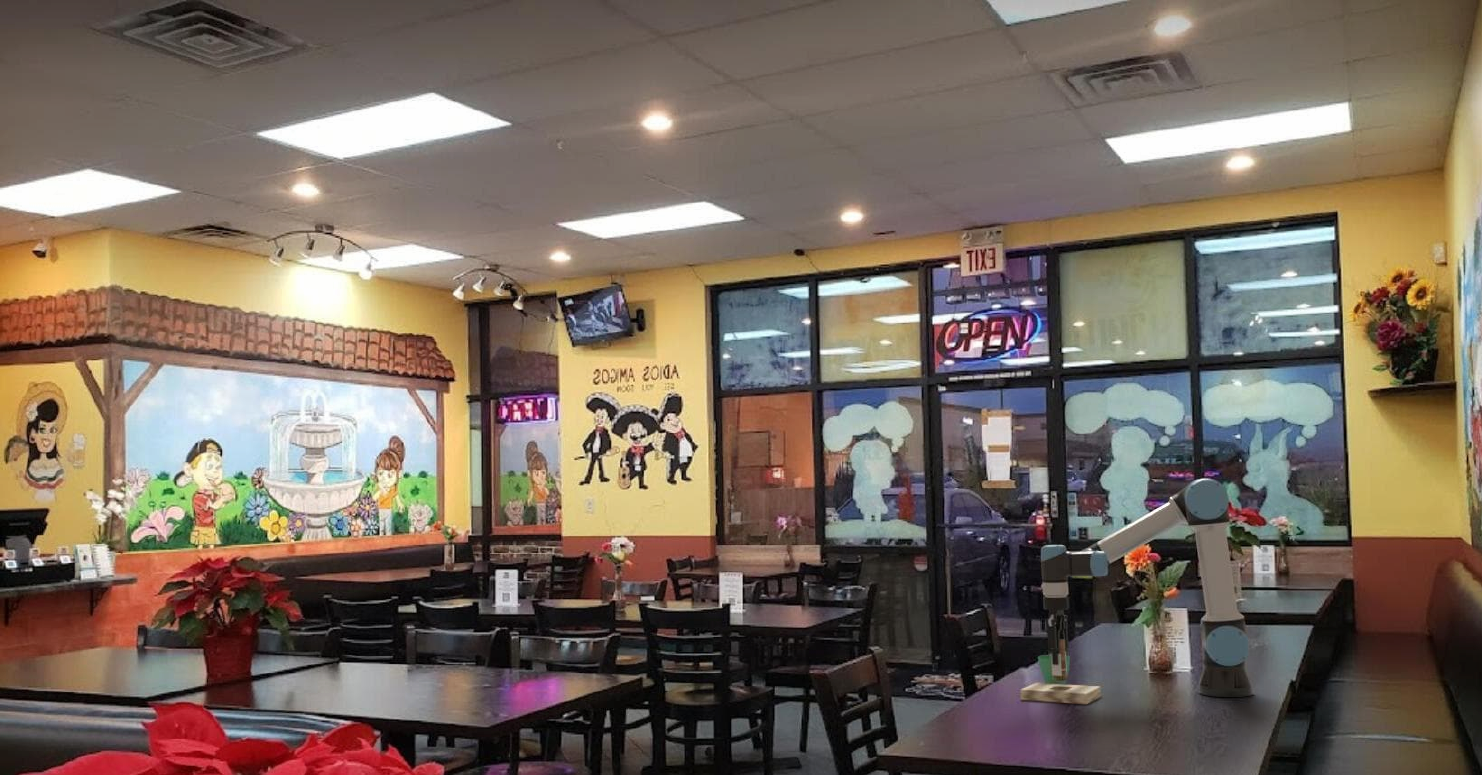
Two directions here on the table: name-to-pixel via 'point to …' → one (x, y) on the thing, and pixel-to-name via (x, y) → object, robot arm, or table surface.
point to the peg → (1062, 662)
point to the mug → (1050, 669)
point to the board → (1061, 693)
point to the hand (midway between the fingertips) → (1059, 674)
